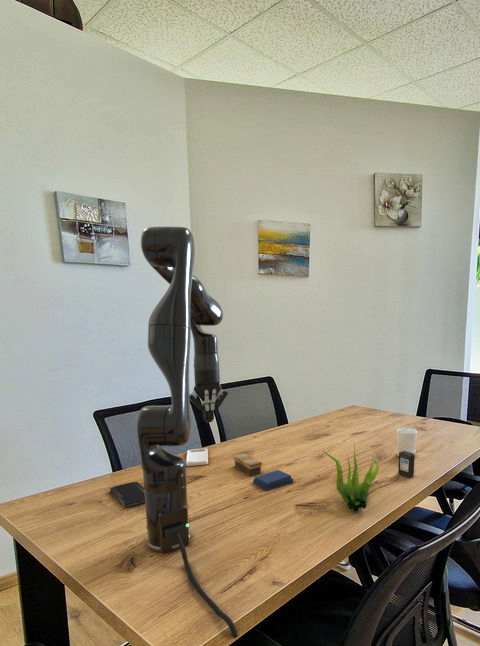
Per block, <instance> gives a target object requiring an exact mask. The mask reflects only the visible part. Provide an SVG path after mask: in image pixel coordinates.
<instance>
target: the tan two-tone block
mask: <svg viewBox="0 0 480 646" xmlns="http://www.w3.org/2000/svg"><path fill="white" fill-rule="evenodd" d="M233 461H234V467H235V468H236V469H238V470H240V471H242V472H243V473H244V474H246V475H248V476H249V477H251V476H255V475H259V474H261V473H262V471H261V468H262V466H263V462H262V461H260V460H258V459H256V458H254V457H252V456H251V455H249V454H247V453H240V454H235V455H233Z"/></svg>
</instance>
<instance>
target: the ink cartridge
mask: <svg viewBox="0 0 480 646" xmlns="http://www.w3.org/2000/svg"><path fill="white" fill-rule="evenodd" d="M415 457H416V453H415V454H413V453H411V452H407V451H401V452H399V456H398V467H397V469H398V471H397V473H398V475H401V476H404V477H406V478H412V477H413V476H414V475H415Z"/></svg>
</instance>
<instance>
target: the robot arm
mask: <svg viewBox="0 0 480 646" xmlns="http://www.w3.org/2000/svg"><path fill="white" fill-rule="evenodd" d="M140 248H141V252H142V254H143V255H142V256H143V257H144V259H145V260H146V263H148V264H149V266H150V267H151V268H152V269H153V270H155V272H156V273H157V274H158V275H159V276H160V277H161V278H162V279H163V280H164V281H165V282H166V283H168V284H169V285H168V288H167V290H166V291H165V293H164V294H163V296H162V297H161V298H160V299H159V301H158V303H157V304H156V305H155V307H154V309H153V310H152V311H151V314H150V316H149V318H148V324H147V349H148V352H149V355H150V356H151V358H152V360H153V361H154V363H155V364H156V366H157V368H158V369H159V370H160V372H161V374H162V375H163V377H164V378H165V381H166V383H167V385H168V388H169V391H170V397H171V405H146V406H143V407H142V408H141V409H140V410H139V412H138V414H137V417H136V425H135V426H136V437H137V444H138V445H137V446H138V452H139V458H140V459H139V460H140V467H141V470H142V476H143V488H144V493H145V502H144V505H145V517H146V532H147V546H148V547H147V548H148V549H150V550H152V551H154V552H160V553H161V554H165V553H168V552H169V553H170V552H173V551H175V550H177V549H180V553H181V557H182V561H183V564H184V567H185V571H186V574H187V576H188V578H189V580H190V582H191V584H192V586H193V587H194V589H195V590H196V592H197V593H198V595H199V596H200V597H201V598H202V600H204V601H205V603H206V604H207V605H208V606H209V607H210V608H211V609H212V610H213V612H214V613H215V614H216V615H217V616H218V617H219V618H221V620H222V621H224V622H225V623H226V625H227V626H228V628H229V630H230V633H231V636H232V637H233V639H234V638H235V639H237V638H238V637H239V634H238V631H237V627H236V625H235V624H234V622H233V620H232V619H231V618H230V616H228V615H227V614H226V613H225V612H224V611H222V610H221V609H220V608H219V606H218V605H217V604H216V603H215V602H214V601H213V600H212V599H211V598H210V597H209V596H208V594H207V593H206V591H204V589H203V588H202V587H201V585H200V584H199V582H198V581H197V579H196V577H195V575H194V573H193V570H192V568H191V565H190V562H189V558H188V554H187V551H186V546H189V545H190V540H191V532H190V520H189V503H188V500H189V499H188V485H187V466H186V460H185V459H184V458H183V457H181V456H179V455H178V454H177V455H176V454H174V453H171V452H169V451H168V450H167V449H165V448H163V447H182V446H185V445H186V444H187V443H188V441H189V439H190V435H191V420H192V419H191V403H192V404H193V405H194V406H195V408H196V409H199V410H200V411H202V412H203V413H202V414H203V420H204V421H205V423H207V424H209V423H213V421H214V420H215V409H219V408H220V407H221V405H222V403H223V402H224V400H225V399H226V397H227V396H228V394H229V391H227V390H224V389H223V388H222V385H221V384H220V383H221V377H220V375H221V373H220V357H219V343H218V336H217V335H216V334H214V333H210V332H206V331H204V329H203V326H207V327H209V326H211V327H212V326H213V327H215V326H218V325H220V324H221V323H222V321H223V320H224V319H223V318H224V312H223V308H222V307H221V305H220V303H219V302H218V301H217V300H216V299H214V298H213V297H212V296H211V295H210V294H209V293H208V292H207V290H206V288H205V286H204V284H203V282H202V281H201V280H200V279H199V278H197V276H195V275H194V266H195V255H196V254H195V253H196V251H195V250H196V248H195V239H194V235H193V233H192V231H191V230H190V229H189V228H188V227H185V226H149V227H146V228H144V230H143V231H142V233H141V236H140ZM191 335H192V336H191ZM191 337H192V338H191ZM191 339H193V351H194V352H193V353H194V355H193V371H194V372H193V373H194V374H193V375H194V387H193V391H192V392H191V393H190V357H191V356H190V354H191ZM197 398H199V399H200V401H198V399H197Z"/></svg>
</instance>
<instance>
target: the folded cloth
mask: <svg viewBox="0 0 480 646" xmlns="http://www.w3.org/2000/svg"><path fill="white" fill-rule="evenodd" d="M252 482H253V484H255V485H256V486H258V487H259V488H261V489H262V490H265V491H268V490H272V489H275V488H280V487H283V486H286V485H289V484H292V483H294V478H293V477H292V475H291V474H288V473H286V472H285V471H283V470H280V469H276V470H273V471H269V472H266V473H263V474H260V475H259V474H258V475H257V476H254V478H253V479H252Z"/></svg>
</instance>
